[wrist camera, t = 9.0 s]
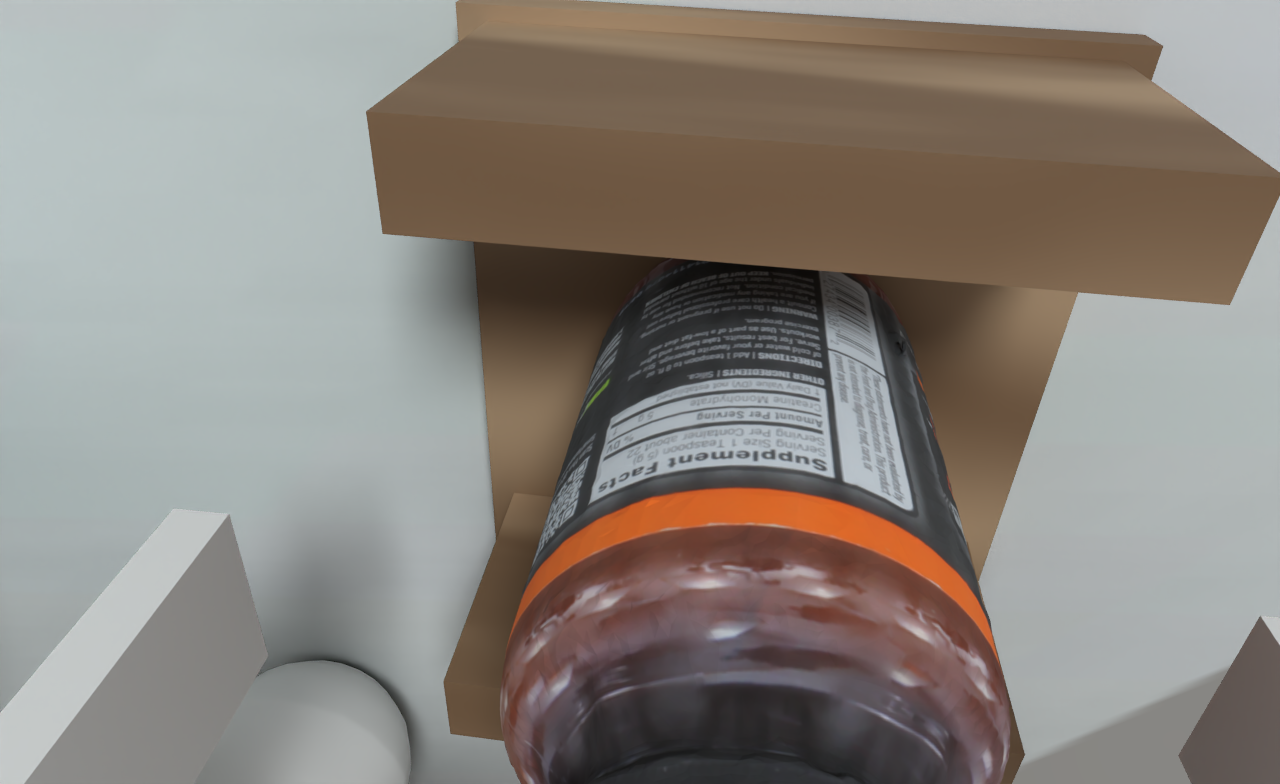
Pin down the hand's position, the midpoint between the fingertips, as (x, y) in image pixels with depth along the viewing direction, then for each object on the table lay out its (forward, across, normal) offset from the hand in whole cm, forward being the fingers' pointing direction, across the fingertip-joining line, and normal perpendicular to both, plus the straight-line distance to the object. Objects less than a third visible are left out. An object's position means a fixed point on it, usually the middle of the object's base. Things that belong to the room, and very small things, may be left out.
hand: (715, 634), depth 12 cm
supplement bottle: (+7, 0, 0) cm, 7 cm away
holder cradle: (+8, -1, -1) cm, 8 cm away
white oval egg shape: (+8, +10, +13) cm, 19 cm away
